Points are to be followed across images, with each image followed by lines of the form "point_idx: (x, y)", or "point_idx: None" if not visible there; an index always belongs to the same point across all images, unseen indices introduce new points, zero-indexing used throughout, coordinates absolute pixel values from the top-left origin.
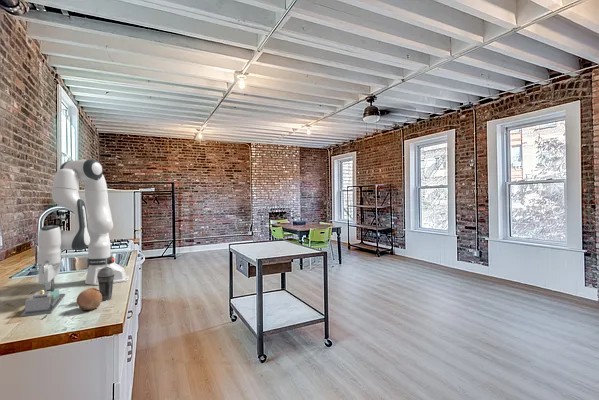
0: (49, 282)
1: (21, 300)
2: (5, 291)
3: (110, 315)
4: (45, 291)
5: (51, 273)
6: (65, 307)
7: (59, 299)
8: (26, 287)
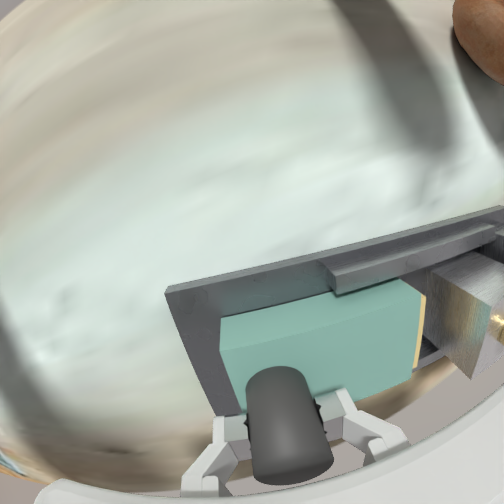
0: (400, 432)
1: None
2: None
3: None
4: (489, 332)
5: (481, 491)
6: (457, 160)
7: (345, 257)
8: (66, 463)
